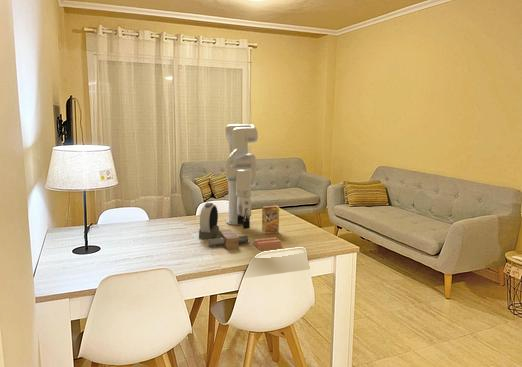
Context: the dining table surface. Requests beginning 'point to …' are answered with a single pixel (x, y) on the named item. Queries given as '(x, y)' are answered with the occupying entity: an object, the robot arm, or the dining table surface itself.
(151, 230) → the dining table surface
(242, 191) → the robot arm
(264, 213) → the candy box
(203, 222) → the alarm clock
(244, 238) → the axle
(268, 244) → the v block
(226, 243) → the beam
